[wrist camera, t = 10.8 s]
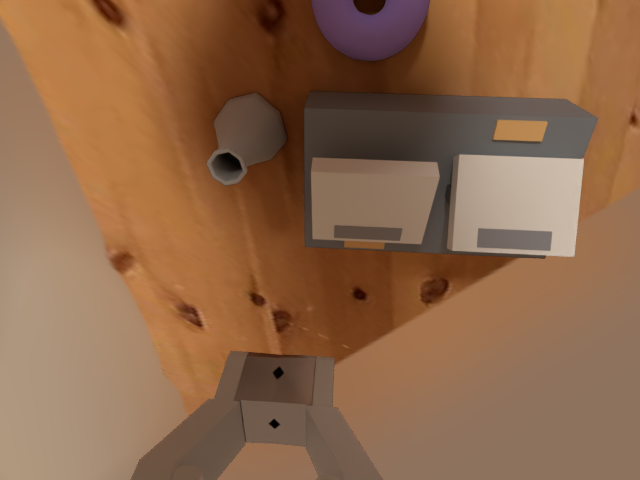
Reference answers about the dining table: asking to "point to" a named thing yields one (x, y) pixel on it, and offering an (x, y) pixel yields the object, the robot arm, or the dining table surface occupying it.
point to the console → (435, 143)
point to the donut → (370, 27)
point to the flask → (245, 137)
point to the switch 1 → (372, 199)
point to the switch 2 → (514, 204)
